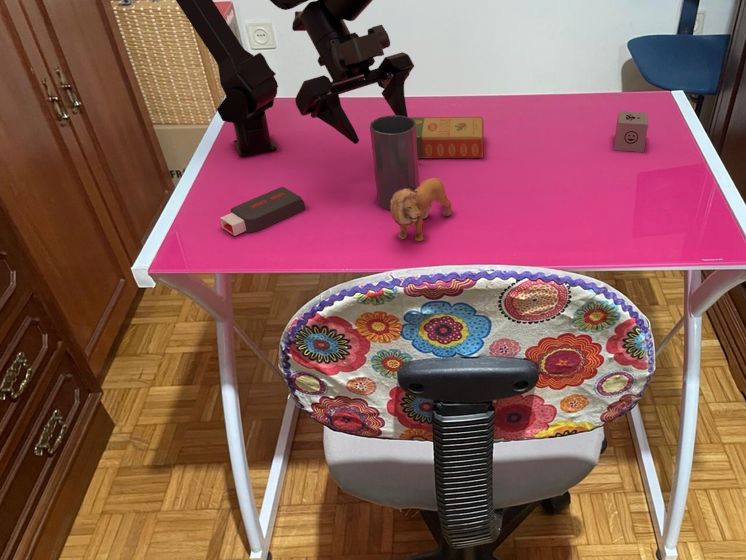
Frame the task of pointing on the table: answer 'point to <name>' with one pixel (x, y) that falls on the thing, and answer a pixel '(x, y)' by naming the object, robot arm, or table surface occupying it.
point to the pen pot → (394, 156)
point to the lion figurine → (417, 205)
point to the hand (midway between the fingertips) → (382, 133)
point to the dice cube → (631, 131)
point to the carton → (449, 137)
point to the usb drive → (262, 211)
